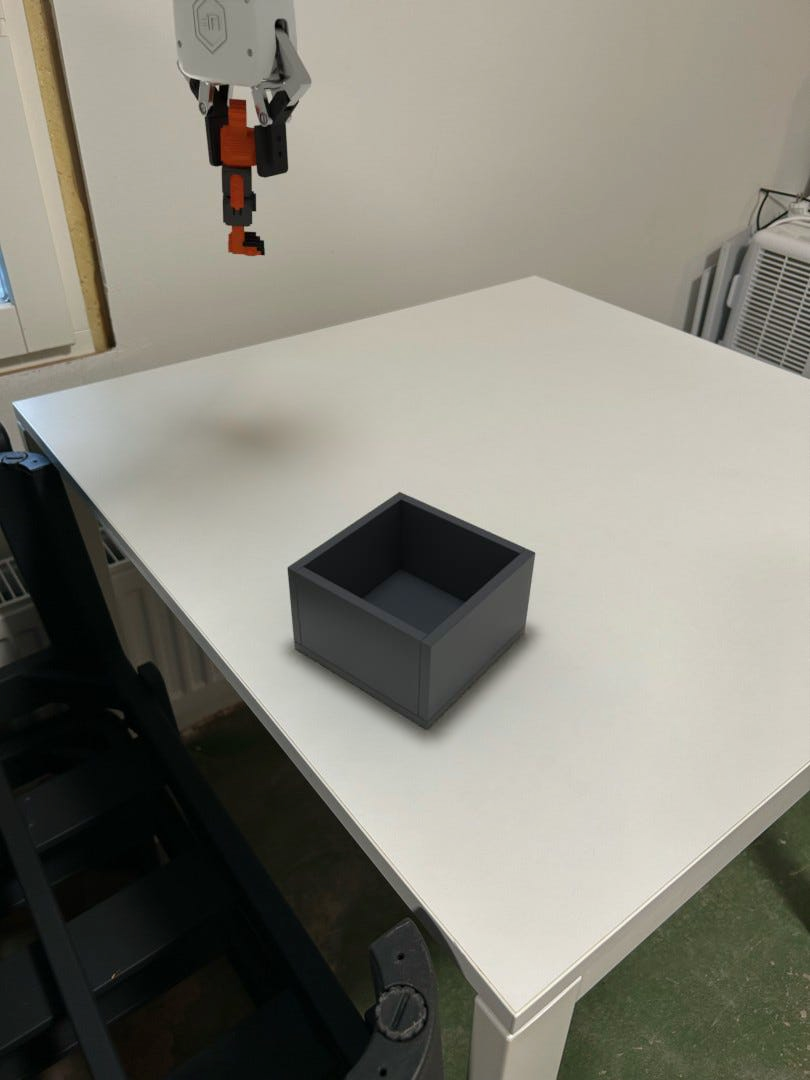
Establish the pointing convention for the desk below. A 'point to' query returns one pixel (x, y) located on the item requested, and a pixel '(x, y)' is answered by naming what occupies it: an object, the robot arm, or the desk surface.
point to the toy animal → (239, 181)
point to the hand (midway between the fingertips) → (248, 166)
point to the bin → (410, 604)
